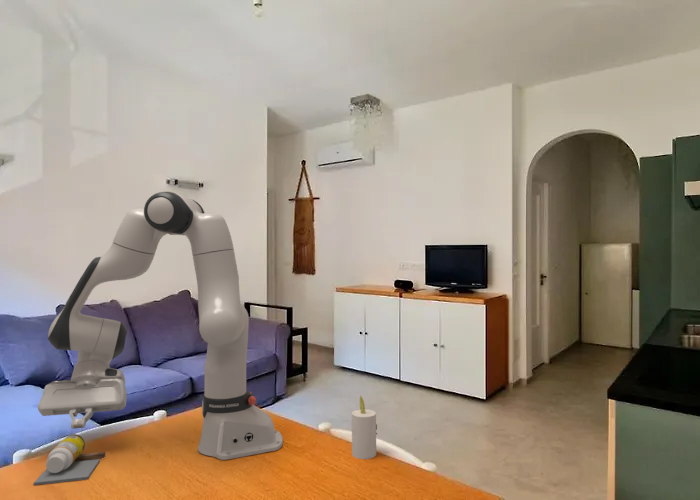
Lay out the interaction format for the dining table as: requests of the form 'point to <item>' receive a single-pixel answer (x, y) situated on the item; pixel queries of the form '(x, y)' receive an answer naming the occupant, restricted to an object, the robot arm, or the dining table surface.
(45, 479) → the felt tile
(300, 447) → the dining table surface
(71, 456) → the supplement bottle
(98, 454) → the strip
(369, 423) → the candle
